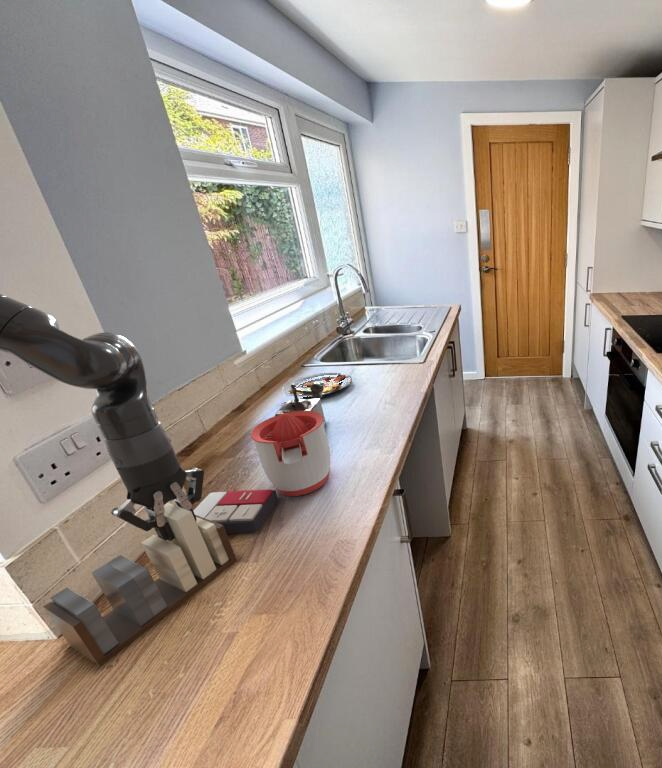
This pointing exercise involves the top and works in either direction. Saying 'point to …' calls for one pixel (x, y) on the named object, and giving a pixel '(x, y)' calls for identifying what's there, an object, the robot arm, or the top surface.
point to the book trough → (135, 594)
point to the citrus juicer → (294, 451)
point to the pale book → (189, 540)
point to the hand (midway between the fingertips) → (180, 531)
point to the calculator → (238, 509)
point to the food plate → (327, 389)
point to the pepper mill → (305, 401)
